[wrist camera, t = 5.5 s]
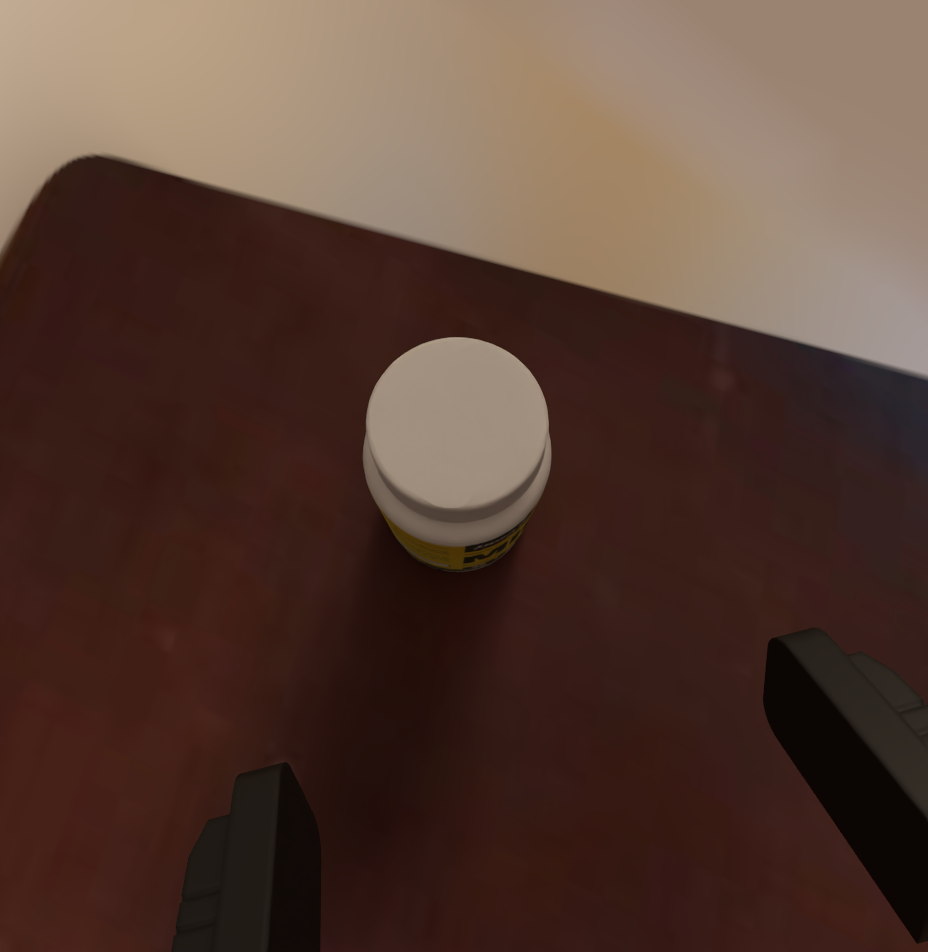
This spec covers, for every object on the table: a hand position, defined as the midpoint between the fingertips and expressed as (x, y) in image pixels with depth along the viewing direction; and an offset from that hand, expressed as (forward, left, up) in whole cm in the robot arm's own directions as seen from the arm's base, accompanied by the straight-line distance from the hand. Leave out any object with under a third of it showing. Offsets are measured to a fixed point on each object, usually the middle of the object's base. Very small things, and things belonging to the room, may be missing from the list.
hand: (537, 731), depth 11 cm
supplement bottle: (-5, -3, -11) cm, 12 cm away
